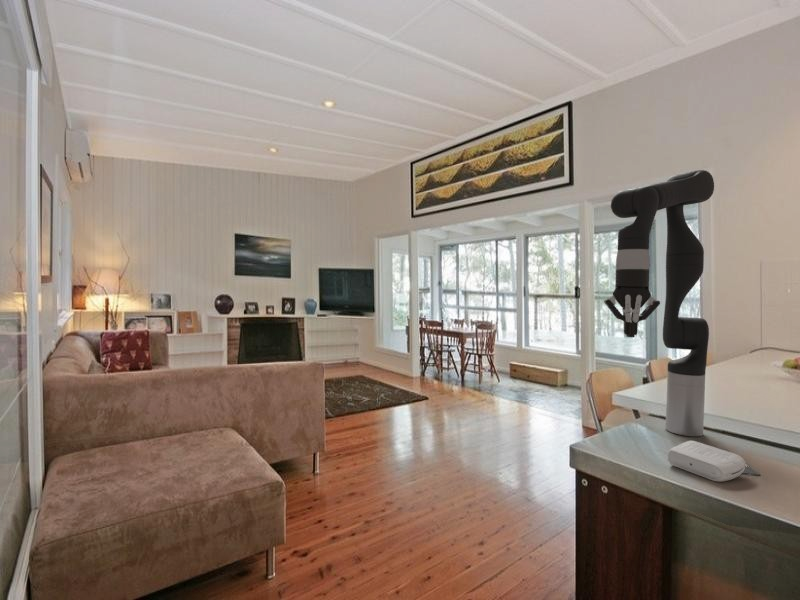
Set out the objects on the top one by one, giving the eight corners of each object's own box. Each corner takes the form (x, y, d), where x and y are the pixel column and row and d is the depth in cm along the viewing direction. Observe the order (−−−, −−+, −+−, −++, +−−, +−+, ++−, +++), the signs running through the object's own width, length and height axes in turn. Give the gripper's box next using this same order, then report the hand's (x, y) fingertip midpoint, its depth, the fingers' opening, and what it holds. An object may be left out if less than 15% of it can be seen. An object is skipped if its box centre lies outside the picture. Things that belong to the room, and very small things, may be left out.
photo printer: (666, 466, 102) (727, 488, 91) (666, 448, 102) (727, 468, 91) (691, 454, 107) (751, 474, 96) (691, 437, 107) (751, 455, 96)
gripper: (657, 269, 112) (654, 336, 113) (601, 268, 116) (599, 334, 116) (666, 267, 105) (664, 339, 106) (606, 267, 108) (604, 337, 109)
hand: (630, 336), depth 111 cm, fingers closed
